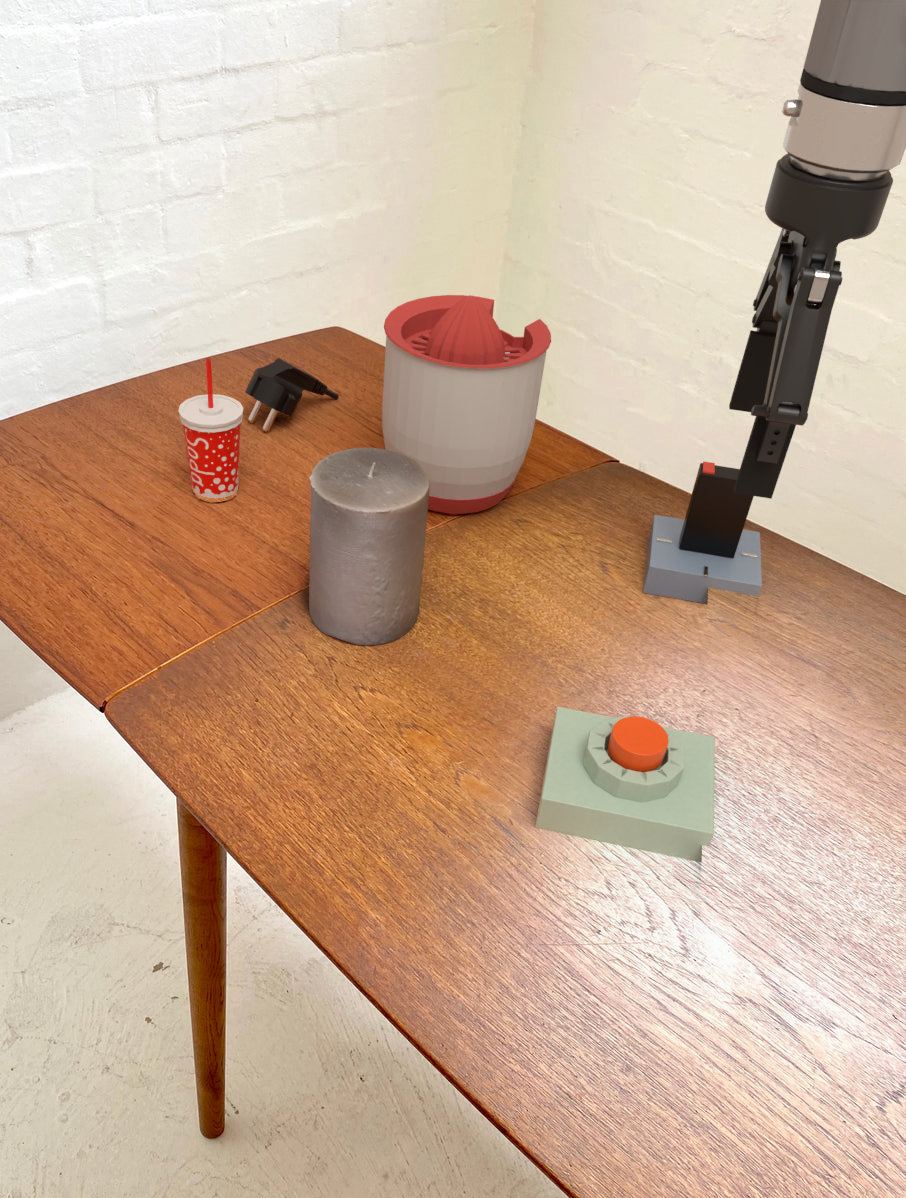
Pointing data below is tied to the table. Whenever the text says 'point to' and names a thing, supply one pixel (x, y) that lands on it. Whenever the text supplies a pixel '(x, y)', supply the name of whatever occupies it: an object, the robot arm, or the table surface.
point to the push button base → (628, 789)
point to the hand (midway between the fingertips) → (748, 449)
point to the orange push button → (638, 744)
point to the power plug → (281, 389)
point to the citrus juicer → (461, 397)
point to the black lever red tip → (715, 512)
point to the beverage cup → (212, 441)
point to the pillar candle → (367, 544)
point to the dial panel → (698, 565)
